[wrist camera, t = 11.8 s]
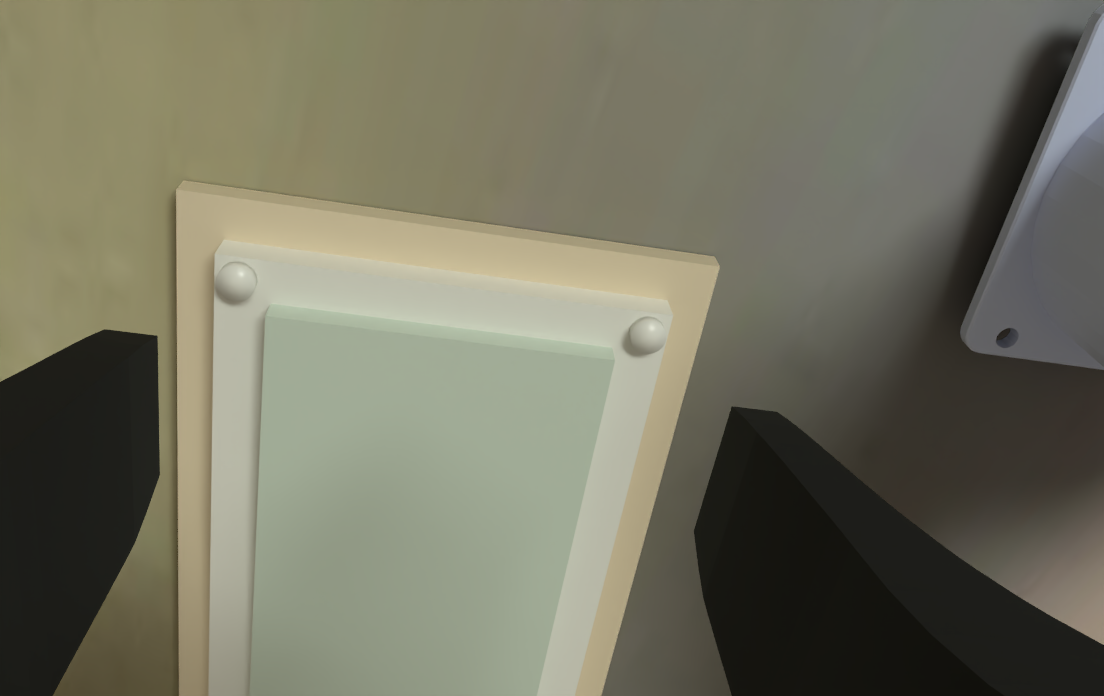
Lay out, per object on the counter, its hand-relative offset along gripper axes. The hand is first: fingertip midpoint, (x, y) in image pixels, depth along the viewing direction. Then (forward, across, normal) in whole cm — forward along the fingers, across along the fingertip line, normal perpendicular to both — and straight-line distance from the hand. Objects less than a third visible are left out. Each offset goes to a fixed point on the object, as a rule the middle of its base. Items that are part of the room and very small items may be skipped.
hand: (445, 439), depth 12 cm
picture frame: (+10, 0, +10) cm, 14 cm away
